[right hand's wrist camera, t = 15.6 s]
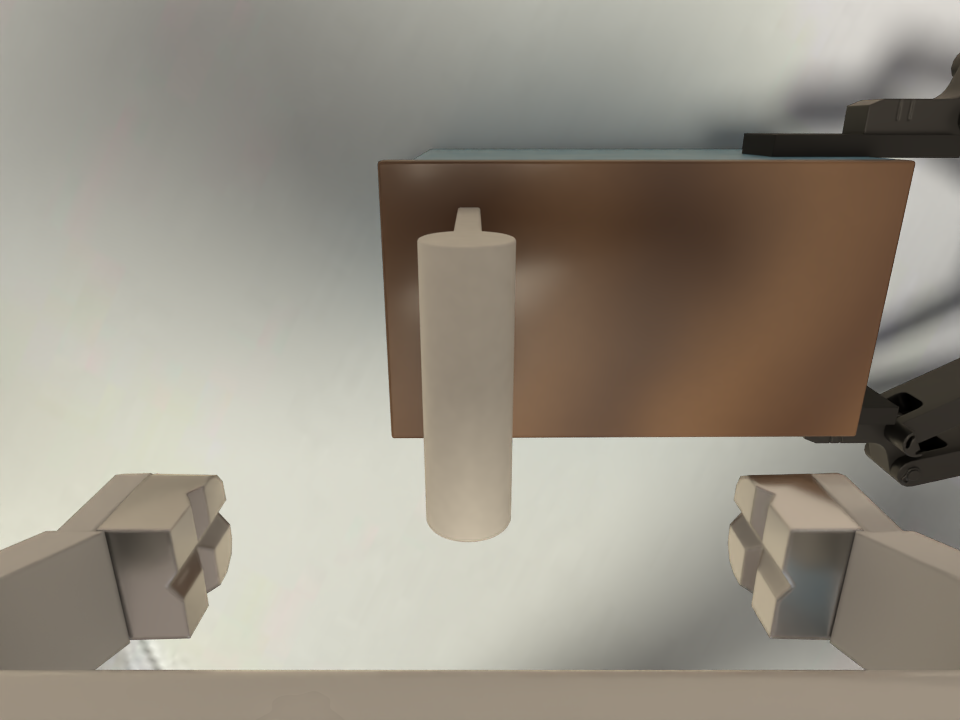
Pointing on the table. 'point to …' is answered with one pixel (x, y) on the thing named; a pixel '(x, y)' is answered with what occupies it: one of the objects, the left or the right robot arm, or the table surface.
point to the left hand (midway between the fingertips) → (738, 283)
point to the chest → (606, 154)
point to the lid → (625, 306)
